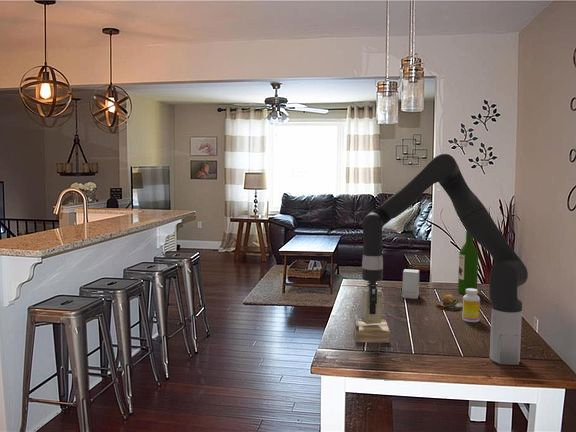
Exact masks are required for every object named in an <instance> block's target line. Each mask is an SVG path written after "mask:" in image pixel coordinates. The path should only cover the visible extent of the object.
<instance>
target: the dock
mask: <svg viewBox="0 0 576 432" xmlns="http://www.w3.org/2000/svg"><path fill="white" fill-rule="evenodd" d="M353 316H354V320H353V321H354V322H353V323H354V324H353V325H354V326H353V327H354V328H353V330H354V337H355V338H354V339H355V343H382V344H385V343H387V344H388V343H390V337H391V333H390V328H389V325H388V323H387V320H386V319H381V323H376V324H366V323H364V322H363V321H362V318H358V314H354V315H353Z"/></svg>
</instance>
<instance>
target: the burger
mask: <svg viewBox="0 0 576 432" xmlns="http://www.w3.org/2000/svg"><path fill="white" fill-rule="evenodd" d="M446 293H447V294H446V295H444V297H443V299H442V300H439V301H437V302H436V307H437V308H438V309H441V310H447V311H450V312H451V311H455V312H457V311H456V310H458V311H463V310H462V309H463V302H461V301H459V300H458V299H457V300H456V299H455V296H454V295H452V294H449V293H448V292H446Z"/></svg>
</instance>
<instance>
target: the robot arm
mask: <svg viewBox="0 0 576 432" xmlns="http://www.w3.org/2000/svg"><path fill="white" fill-rule="evenodd" d="M437 183H439V185H440V186H441V187H442V189H443V190H444V192H445V193H446V194H447V196H448V197H449V199H450V201H451V203H452V207H453V208H454V211H455V212H456V214H457V217H458V219H459V221H460V223H461V224H462V226H463V227H464V229H465V231H467V232H468V233H469V235H470V236H471V237H472V238H473V240H474V241H475V242H476V243H477V244H479V245H480V246H481V247H482V248H483V249H484V250H486V251H487V252H488V253H489V254H490V256H491V258H492V259H493V261H494V262H495V263H494V264H493V265H492V266H491V268H490V272H489V278H488V279H489V283H488V284H489V298H490V301H491V313H490V314H491V316H490V334H489V335H490V338H489V339H490V343H489V359H490V360H491V361H492V362H494V363H496V364H498V365H509V366H510V365H511V366H512V365H513V366H515V365H516V366H520V361H521V341H522V340H521V338H522V337H521V336H522V319H523V318H522V317H523V315H522V314H523V302H522V300H521V299H519V298H518V287H520V286H522V285H524V284H525V283H526V282H527V280H528V278H529V277H528V275H529V273H528V269H527V267H526V265H525V263H524V262H523V261H522V259H521V258H520V257H519V255H518V254H517V253H516V252H515V250H513V248H512V247H511V245H510V244H509V242H508V241H507V240H506V238H505V237H504V235H503V234H502V232H501V231H500V229H499V227H498V226H497V224H496V223H495V221H494V220H493V217H492V216H491V215H490V213H489V211H488V209H487V208H486V207H485V205H484V203H483V202H481V199H479V197H478V196H477V195H476V194H475V193H474V192H473V191H472V189H471V188H470V187H469V186H468V183H467V182H466V180H465V178H464V176H463V174H462V172H461V169H460V167H459V164H458V162H457V161H456V159H455V157H454V156H452V155H450V154H448V153H440V154H437V155H435V157H433V158H432V159H431V160H430V161H429V162H428V163H427V164H426V165H425V166H424V168H422V170H420V172H419V173H418V174H417V175H415V177H413V178H412V179H411V180H410V181H409V182H408V183H407V184H405V185H404V186H403V187H402V188H401V189H399V190H397V192H395V193H394V194H393V195H391V196H390V197H389V198H387V199H386V200H385V201H384V202H383V203H382V204H381V205H378V207H376V208H375V209H373V210H371V211H370V212H369V213H367V214H366V215H365V217H364V219H363V222H362V235H363V237H362V238H363V245H362V248H363V249H362V261H361V271H362V272H361V278H362V280H363V281H365V282H366V289H367V290H368V292H369V291H370V294H368V297H369V304H370V311H369V313H370V314H376V304H377V297H378V295H377V290H378V289H379V285H378V283H377V282H381V281H383V278H384V274H383V273H384V259H383V241H382V237H383V227H384V226H385V225H386V224H388V223H389V222H390V221H392V219H395V218H397V217H398V216H400V215H401V214H403V213H404V212H405V211H407V210H409V208H410V207H411V206H412V205H413V204H414V203H416V201H417V200H418V199H419V198H420V197H421V195H423V193H424V192H425V191H427V190H428V189H429V188H430V187H432V186H434V185H435V184H437ZM372 298H375V301H371V299H372Z"/></svg>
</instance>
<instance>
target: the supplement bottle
mask: <svg viewBox="0 0 576 432" xmlns="http://www.w3.org/2000/svg"><path fill="white" fill-rule="evenodd" d="M478 294H479V290H478V288H477V289H473V288H467V289H466V294H463V296H462V303H463V310H462V314H461V315H462V316H461V318H462V320H463V321H464V322H467V323H478V322H479V321H480V313H481V312H480V309H481V298H480V296H479V295H478Z"/></svg>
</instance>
